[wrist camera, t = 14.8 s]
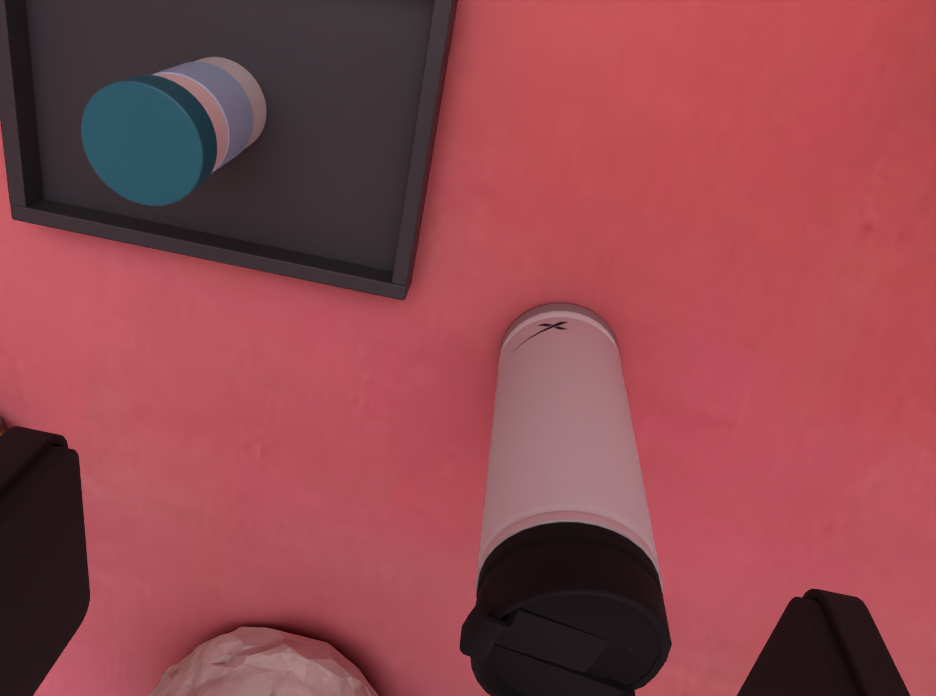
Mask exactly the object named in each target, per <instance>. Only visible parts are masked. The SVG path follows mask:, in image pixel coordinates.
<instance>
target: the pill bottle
mask: <svg viewBox="0 0 936 696" xmlns="http://www.w3.org/2000/svg"><path fill="white" fill-rule="evenodd" d="M265 121H266V102H265V98H264V95H263V92H262V90H261V88H260V86H259V84H258V83H257V81H256V80H255V78H254V77H253V76H252V75H251V74H250V73H249V72H248V71H247V70H246V69H245V68H244V67H242V66H241V65H239V64H238V63H236V62H234V61H232V60H229V59H226V58H221V57H207V58H203V59H199V60H197V61H194V62H188V63H184V64H181V65H178V66H175V67H172V68H169V69H166V70H163V71H160V72H157V73H155V74H152V75H137V76H132V77H129V78H126V79H123V80H120V81H117V82H114V83H111V84H108V85H106V86H104V87H103V88H101V89H100V90H98V91H97V92H96V93H95V94H94V95H93V96H92V97H91V99H90V100H89V102H88V103H87V105H86V108H85V110H84V113H83V116H82V122H81V137H82V143H83V147H84V151H85V153H86V156H87V158H88V160H89V162H90V164H91V166H92V168H93V169H94V171H95V172H96V173H97V175H98V176H99V177H100V178H101V180H102V181H103V182H104V183H105V184H106V185H107V186H108V187H110V188H111V189H112V190H113V191H115V192H116V193H118V194H119V195H121V196H122V197H124V198H126V199H128V200H131V201H133V202H136V203H139V204H143V205H149V206H163V205H169V204H173V203H175V202H177V201H180V200H181V199H183V198H185V197H186V196H187V195H189V194H190V193H192V192H193V191H194V190H196V189H197V188H199V187H200V186H201V185H202V184H203V183H204V182H205V181H206V180H207V179H208V178H209V176H210V174H211V173H213V172H214V171H216V170H217V169H219V168H220V167H221V166H223V165H224V164H226V163H227V162H228V161H230V160H231V159H233V158H234V157H236V156H237V155H238V154H240V153H241V152H242V151H243V150H244V149H245V148H246V147H248V146H249V145H251V144H252V143H253V142H254V141H255V140H256V139H257V138H258V137H259V136H260V134H261V132H262V130H263V128H264V125H265Z"/></svg>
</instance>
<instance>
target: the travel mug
mask: <svg viewBox="0 0 936 696" xmlns="http://www.w3.org/2000/svg"><path fill="white" fill-rule="evenodd" d="M476 589H477V594H476V597H477V601H476V606H475V607H474V609H473V610H472V611H471V613H470V614H469V615H468V617H467V619H466V620H465V622H464V624H463V625H462V630H461V639H460V650H461V652H462V653H463V654H465V655H467V656H470V657H471V666H472V670H473V672H474V675H475V677H476V679H477V681H478V683H479V684H480V685H481V686H482V688H483V689H484V690H485V691H486V692H487V693H488V694H489V695H491V696H635V691H634V690H636V689H638V688H641V687H643V686H645V685H646V684H647V683H648V682H649V681H650V680H651V679H653V678H654V677H655V676H656V675H657V673H658V672H659V670H660V669H661V668H662V666H663V665H664V662H666V660H667V657H668V654H669V651H670V648H671V645H672V643H671V638H670V633H669V627H668V622H667V616H666V611H665V606H664V601H663V594H662V589H663V585H662V580H661V575H660V569H659V564H658V558H657V553H656V548H655V542H654V537H653V532H652V526H651V521H650V516H649V510H648V505H647V500H646V494H645V489H644V484H643V478H642V473H641V468H640V462H639V457H638V452H637V446H636V441H635V435H634V430H633V425H632V419H631V414H630V409H629V403H628V398H627V393H626V387H625V382H624V377H623V371H622V366H621V361H620V355H619V350H618V345H617V340H616V338H615V336H614V333H613V331H612V330H611V328H610V327H609V326H608V324H607V323H606V322H605V321H604V320H603V319H602V318H601V317H600V316H598V315H597V314H595V313H594V312H592V311H590V310H589V309H586V308H584V307H581V306H578V305H573V304H567V303H551V304H546V305H541V306H539V307H536V308H533V309H531V310H529V311H527V312H526V313H524V314H523V315H521V316H520V317H518V318H517V319H516V320H515V321H514V322H513V323H512V324H511V326H510V327H509V329H508V330H507V331H506V333H505V335H504V338H503V340H502V343H501V348H500V355H499V366H498V375H497V384H496V394H495V404H494V413H493V423H492V433H491V443H490V452H489V462H488V472H487V481H486V491H485V501H484V510H483V520H482V530H481V539H480V549H479V559H478V572H477V578H476Z"/></svg>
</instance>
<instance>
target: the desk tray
mask: <svg viewBox="0 0 936 696" xmlns="http://www.w3.org/2000/svg"><path fill="white" fill-rule="evenodd" d="M457 1H458V0H0V120H1V129H2V138H3V147H4V155H5V164H6V173H7V182H8V191H9V199H10V204H11V214H12V219H14V220H19V221H23V222H28V223H33V224H38V225H43V226H47V227H52V228H57V229H62V230H67V231H72V232H76V233H81V234H86V235H91V236H96V237H100V238H105V239H110V240H115V241H120V242H125V243H129V244H134V245H139V246H144V247H149V248H153V249H158V250H163V251H168V252H173V253H177V254H182V255H187V256H192V257H197V258H202V259H206V260H211V261H216V262H221V263H226V264H230V265H235V266H240V267H245V268H250V269H255V270H259V271H264V272H269V273H274V274H279V275H283V276H288V277H293V278H298V279H303V280H308V281H312V282H317V283H322V284H327V285H332V286H336V287H341V288H346V289H351V290H356V291H360V292H365V293H370V294H375V295H380V296H385V297H389V298H394V299H399V300H405V298H406V295H407V293H408V290H409V287H410V285H411V280H412V274H413V268H414V262H415V256H416V250H417V244H418V238H419V232H420V226H421V220H422V214H423V208H424V201H425V195H426V189H427V183H428V177H429V171H430V165H431V159H432V153H433V147H434V141H435V135H436V129H437V123H438V117H439V111H440V104H441V98H442V92H443V86H444V80H445V74H446V68H447V62H448V56H449V50H450V44H451V38H452V32H453V26H454V20H455V13H456V7H457ZM207 57H221V58H226V59H229V60H232V61H234V62H236V63H238V64H239V65H241V66H242V67H244V68H245V69H246V70H247V71H248V72H249V73H250V74H251V75H252V76H253V77H254V78H255V80H256V81H257V83H258V84H259V86H260V88H261V90H262V92H263V95H264V98H265V102H266V121H265V125H264V128H263V130H262V132H261V134H260V136H259V137H258V138H257V139H256V140H255V141H254V142H253V143H252V144H251V145H249V146H248V147H246V148H245V149H244V150H243V151H242V152H241V153H240V154H238V155H237V156H236V157H234V158H233V159H231V160H230V161H228V162H227V163H226V164H224V165H223V166H221V167H220V168H219V169H217V170H216V171H214V172H213V173H211V174H210V176H209V178H208V179H207V180H206V181H205V182H204V183H203V184H202V185H201V186H200V187H199V188H197V189H196V190H194V191H193V192H192V193H190V194H189V195H187V196H186V197H185V198H183V199H181V200H180V201H177V202H175V203H173V204H169V205H163V206H149V205H143V204H139V203H136V202H133V201H131V200H128V199H126V198H124V197H122V196H121V195H119V194H118V193H116V192H115V191H113V190H112V189H111V188H110V187H108V186H107V185H106V184H105V183H104V182H103V181H102V180H101V178H100V177H99V176H98V175H97V173H96V172H95V171H94V169H93V168H92V166H91V164H90V162H89V160H88V158H87V156H86V153H85V151H84V147H83V143H82V137H81V122H82V116H83V113H84V110H85V108H86V105H87V103H88V102H89V100H90V99H91V97H92V96H93V95H94V94H95V93H96V92H97V91H98V90H100V89H101V88H103V87H104V86H106V85H108V84H111V83H114V82H117V81H120V80H123V79H126V78H129V77H132V76H137V75H152V74H155V73H157V72H160V71H163V70H166V69H169V68H172V67H175V66H178V65H181V64H184V63H188V62H194V61H197V60H199V59H203V58H207Z"/></svg>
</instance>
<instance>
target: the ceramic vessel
mask: <svg viewBox="0 0 936 696" xmlns="http://www.w3.org/2000/svg"><path fill="white" fill-rule="evenodd" d="M148 696H378V694H377V693H376V692H375V690H374V689H373V688H372V687H371V685H370V684H369V683H368V681H367V680H366V679H365V677H364V676H363V674H362V672H361V671H360V669H359V668H357V667H356V666H355V665H354V664H353V663H351V662H350V661H349V660H348V659H347V658H345V657H344V656H343V655H342V654H341V653H339V652H338V651H337V650H336V649H335V648H333V647H332V646H331V645H330V644H329V643H327V642H323V641H319V640H315V639H311V638H307V637H303V636H299V635H295V634H291V633H287V632H283V631H279V630H276V629H271V628H266V627H240V628H238V629H236V630H234V631H232V632H230V633H227V634H221V635H219V636H218V637H215V638H212V639H210V640H208V641H206V642H204V643H202V644H200V645H198V646H197V647H196V648H195V649H194V650H193V651H192V652H191V653H190V654H188V655H187V656H185V657H184V658H183V659H182V661H180V662H179V663H178V664H175V665H172V666H169V668H168V669H167V670H166V671H165V672H164V674H163V676H162V678H161V680H160V682H159V683H158V684H157V686H156V687H155V688H154V690H153V691H152V692H151V693H150V694H149V695H148Z"/></svg>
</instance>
